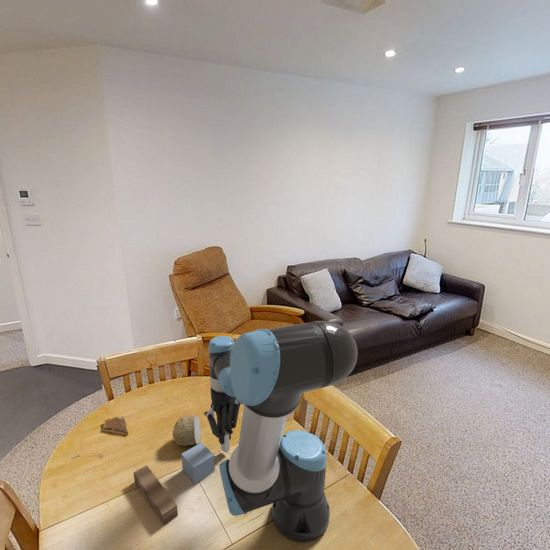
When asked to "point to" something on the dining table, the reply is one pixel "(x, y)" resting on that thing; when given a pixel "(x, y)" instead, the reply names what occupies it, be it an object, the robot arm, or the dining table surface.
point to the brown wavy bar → (155, 494)
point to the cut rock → (187, 430)
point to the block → (198, 462)
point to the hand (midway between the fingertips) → (225, 449)
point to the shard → (116, 425)
